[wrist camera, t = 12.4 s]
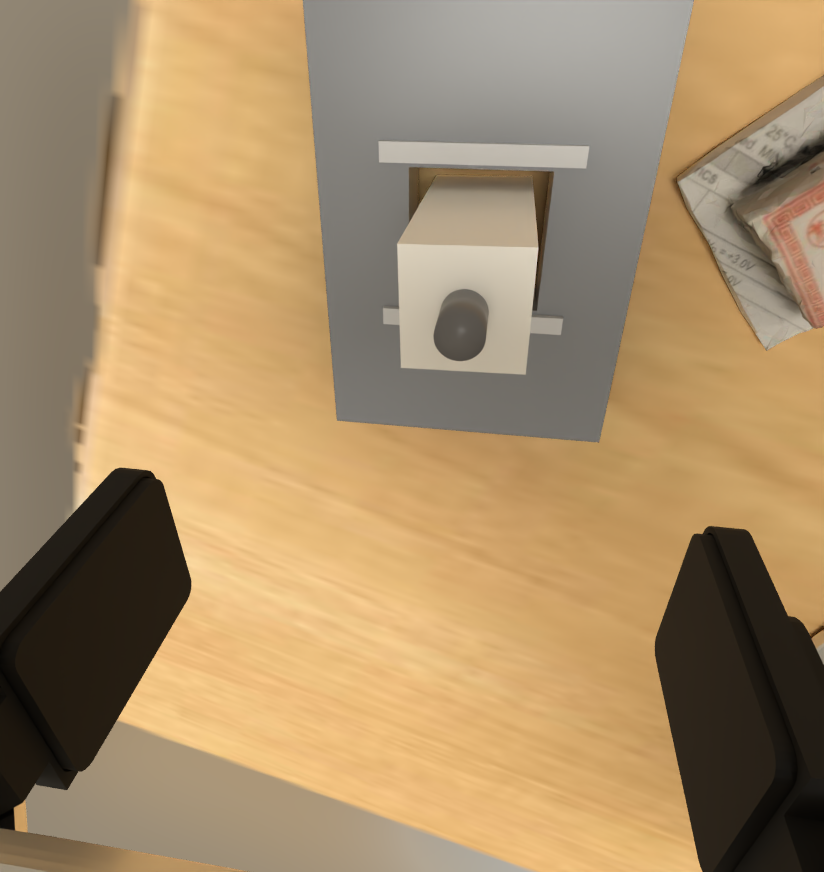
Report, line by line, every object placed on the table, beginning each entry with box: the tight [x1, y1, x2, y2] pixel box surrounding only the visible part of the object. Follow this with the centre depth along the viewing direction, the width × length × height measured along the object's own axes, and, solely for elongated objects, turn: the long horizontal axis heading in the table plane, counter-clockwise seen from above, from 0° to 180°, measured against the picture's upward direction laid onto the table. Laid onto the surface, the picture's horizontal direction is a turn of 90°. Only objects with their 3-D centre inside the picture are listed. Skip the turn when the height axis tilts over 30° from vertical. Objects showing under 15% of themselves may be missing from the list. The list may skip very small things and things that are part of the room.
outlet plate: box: [303, 0, 694, 442], centre depth 28 cm, size 14×20×3 cm
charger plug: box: [397, 175, 538, 375], centre depth 24 cm, size 4×4×13 cm
